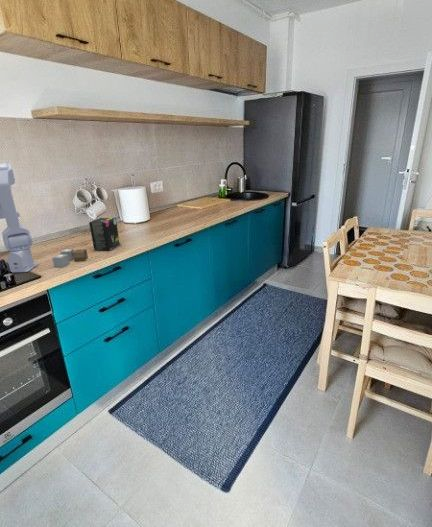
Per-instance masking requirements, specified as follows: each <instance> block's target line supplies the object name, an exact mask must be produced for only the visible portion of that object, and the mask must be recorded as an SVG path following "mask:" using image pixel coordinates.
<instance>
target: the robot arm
mask: <svg viewBox="0 0 432 527" xmlns="http://www.w3.org/2000/svg"><path fill="white" fill-rule="evenodd" d="M15 179H16V178H15V174H14V170H13V167H12V165H11V163H9V162H2V163H0V220H3V219H5V221H6V225H7V226H6V227H5V229H3V231H2V232H1V235H2V241H3V245H4V246H5V247H4V248H5V249H6V250H7V251H10V252H9V254H7V260H6V261H7V262H8V267H9V271H11V272H12V273H27V272H29V271H31V270H33V269H34V268H36V267H37V266H39V263H37V262H34V258H33V253H32V252H31V250H32V249H31V246H32V245H33V243H34V242H33V238H32V235H31V232H30V229H29V228H28V227H25V226H23V225H22V224H20V221H19V217H21V216H20V212H19V211H17V208H16V205H15V200H14V195H13V193H12V185H14V184H15V183H16V180H15Z"/></svg>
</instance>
